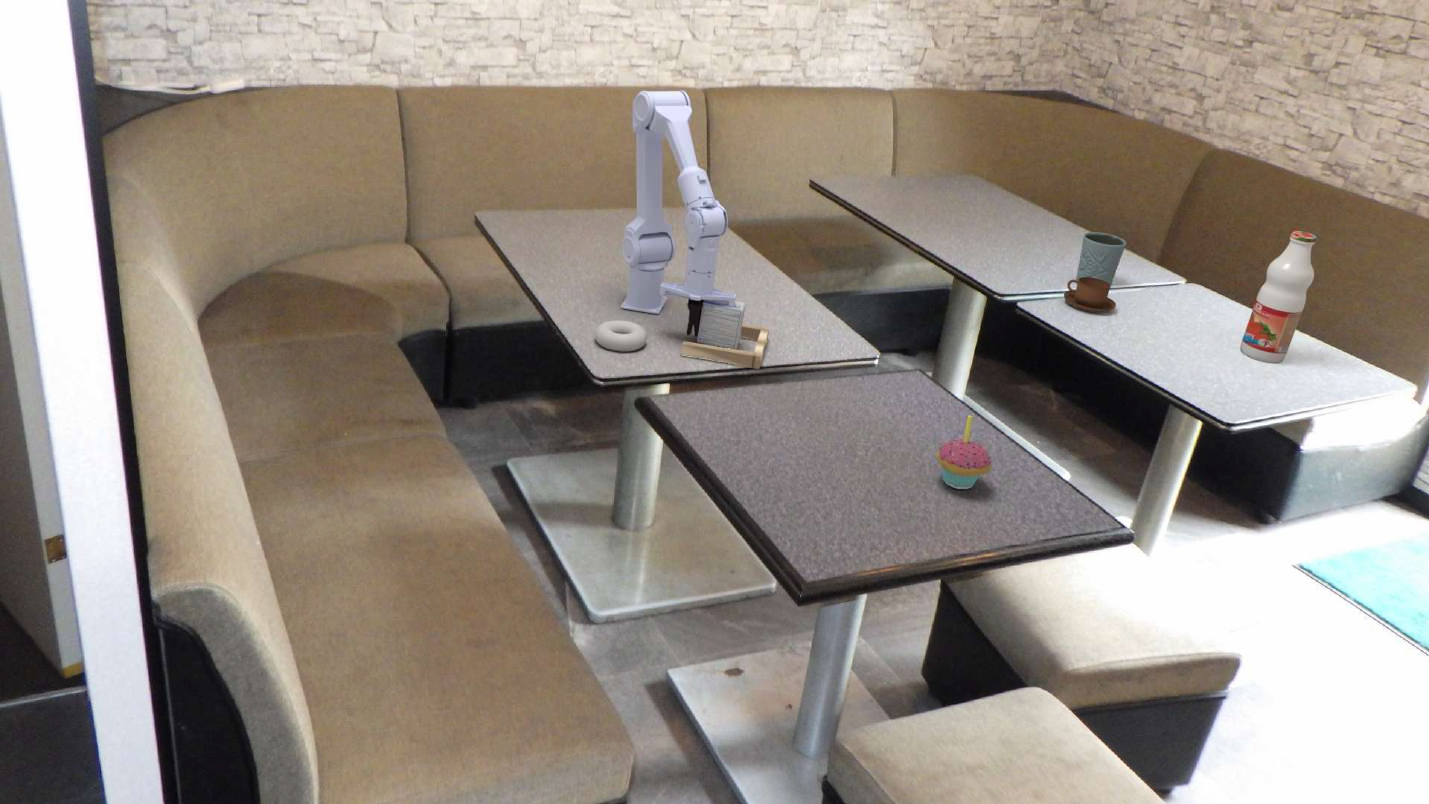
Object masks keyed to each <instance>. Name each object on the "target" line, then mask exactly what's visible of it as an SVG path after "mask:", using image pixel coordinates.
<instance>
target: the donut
mask: <svg viewBox="0 0 1429 804" xmlns="http://www.w3.org/2000/svg"><path fill="white" fill-rule="evenodd" d="M594 337H595V340H596V342H597V343H598V345H599V346H601V347H602V348H605V349H607V350H610V351H615V352H625V353H626V352H634V351H637V350H640V349H641V348H642V347H644V346H645V345H646V344H647V340H648V334H647V332H646V329H645V328H643V327H642V326H641V325H640V324H638V323H635V322H634V321H629V320H623V319H622V320H620V319H619V320H608V321H605V322H602V323H601V324H600V325H598V327H596V330H595V333H594Z"/></svg>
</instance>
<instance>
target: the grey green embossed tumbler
mask: <svg viewBox="0 0 1429 804" xmlns="http://www.w3.org/2000/svg"><path fill="white" fill-rule="evenodd" d="M1126 245H1127V242H1126V240H1125V239H1123V238H1121V237H1120V236H1116V235H1114V234H1110V233H1104V232H1098V231H1097V232H1095V231H1094V232H1093V231H1090V232H1086V233H1084V234H1083V238H1082V245H1081V249H1080V251H1081V252H1080V255H1079V258H1080V259H1079V263H1078V266H1077V273H1076V276H1075V280H1077V281H1078V280H1079V278H1081V277H1091V278H1097V279H1100V280H1103V281H1106V282H1107V283H1109V284H1110V288H1111V287H1112V284H1113V279H1114V278H1115V275H1116V273H1117V270H1118V267H1119V264H1120V261H1121V257H1122V256H1123V253H1124V251H1125V248H1126Z"/></svg>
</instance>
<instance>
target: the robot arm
mask: <svg viewBox="0 0 1429 804" xmlns="http://www.w3.org/2000/svg"><path fill="white" fill-rule="evenodd" d="M692 117H693V109H692V103H691V99H690V97H689V95H688V93H687V92H686V91H685V90H682V89H680V90H679V89H678V90H675V91H674V90H667V91H666V90H665V91H664V90H661V91H660V90H659V91H657V90H655V91H654V90H653V91H650V90H649V91H647V90H641V91H639V92H638V93H637V94H636V96H635V98H634V99H633V100H632V132H633V133H635V134H636V135H635V136H636V143H635V144H636V145H635V146H636V147H635V148H636V153H635V154H636V155H635V156H636V157H635V159H636V217H635V219H633V220H632V221H631V222H630V223H628V224H627V225H626V226H625V227H624V232H623V233H624V234H623V235H624V236H623V240H622V243H621V254H622V258H623V260H624V262H626V264H627V265H628V266H629V267H628V278H627V279H628V281H627V291H626V298H625V299H624V301H623V302H622V303H621V305H620V308H621V309H623V310H628V311H629V310H631V311H636V312H641V313H642V312H643V313H648V314H655V315H659V314H660V313H661V310H662V309H663V308H664V305H665V304H666V302H667V301H668V300H667V299H668V297H667V296H672V297H676V298H677V297H678V298H685V299H688V302H687V303H686V304H687V309H688V321H687V322H688V323H687V327H686V334H685V335H686V336H691V334H692V332H694V337H696V338H698V332H699V326H700V319H701V313H702V307H703V302H704V301H705V300H707V301H711V302H716V303H721V304H726V305H728V306H731V307H734V305H735V301H737V298H736V297H737V294H735V293H732V292H731V293H730V292H726V291H725V290H724V291H723V290H719V289H717V288H714V286H715V281H716V274H717V273H716V271H717V264H718V263H717V262H718V256H719V255H718V254H719V246H720V237H722V236H724V235H725V234H726V233H727V231H728V230H727V229H728V227H729V219H728V215H727V214H728V213H727V210H726V208H724V207H723V205H721V204H720V201H719V200H717V199H715V196H714V192H713V190H712V186H711V183H710V180H709V177H708V174H707V172H706V171H705V169H703V168H701V167H699V165H698V160H697V156H696V150H695V146H694V142H693V138H692V134H691V130H690V123H691V121H692ZM665 138H666V140H667V143H668V146H669V147H670V150H671V152H672V155H673V157H674V160H675V163H676V165H677V167H678V170H679V175H678V178H677V181H676V182H677V184H678V185H677V186H678V188H679V191H680V194H681V199H682V201H683V204H684V207H685V208H684V209H685V210H686V215H685V217H684V219H683V221H684V222H683V223H684V229H685V234H686V235H685V236H686V237H685V241H686V244H687V255H686V262H685V264H686V265H685V273H684V282H683V283H669V282H665V275H666V267H669V263H670V262H671V261H672V260H673V259H674V258H675V255H676V254H675V253H676V248H677V247H676V242H675V238H674V232H673V231H674V230H673V229H674V228H673V226H672V225H670V223H668V221H666V220H665V219H664V218H663V217H664V216H663V214H664V213H663V208H664V206H663V203H664V201H663V197H664V195H663V194H664V193H663V191H664V190H663V189H664V188H663V186H664V183H663V179H664V178H663V177H664V176H663V175H664V173H663V172H664V171H663V169H664V168H663V167H664V166H663V164H664V163H663V159H664V158H663V156H664V155H663V152H664V151H663V149H664V148H663V145H664V144H663V142H664V141H663V140H664V139H665ZM693 325H694V331H693Z"/></svg>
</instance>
